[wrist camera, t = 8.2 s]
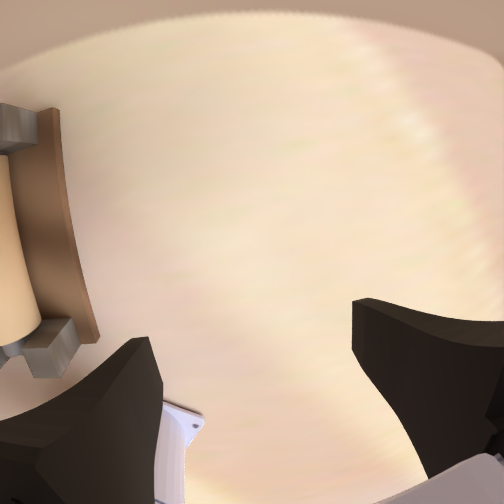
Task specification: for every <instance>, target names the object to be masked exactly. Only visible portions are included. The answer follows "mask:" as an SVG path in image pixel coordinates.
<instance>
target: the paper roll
mask: <svg viewBox="0 0 504 504" xmlns="http://www.w3.org/2000/svg"><path fill="white" fill-rule="evenodd" d="M40 322H41V315H40V312H39V309H38V306H37V303H36V299H35V296H34V293H33V289H32V286H31V282H30V279H29V275H28V271H27V267H26V263H25V259H24V255H23V251H22V246H21V242H20V237H19V232H18V227H17V222H16V216H15V210H14V204H13V197H12V189H11V181H10V172H9V162H8V156H6V155H0V346H2V347H3V350H4V352H5V355H6V356H8V357H14V356H18V355H20V354H22V353H23V352H22V349H21V348H22V347H23V346H24V345H25V344H26V343H27V342H26V339H25V336H26V335H28V334H29V333H31V332H32V331H33V330H35V329H36V328H37V327H38V326H39V324H40Z"/></svg>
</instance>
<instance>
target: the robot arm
mask: <svg viewBox="0 0 504 504" xmlns="http://www.w3.org/2000/svg"><path fill="white" fill-rule="evenodd" d="M352 351H353V353H354V355H355V356H356V358H357V360H358V362H359V364H360V366H361V368H362V369H363V371H364V372H365V373H366V375H367V376H368V377H369V379H370V380H371V381H372V383H373V384H374V385H375V387H376V388H377V389H378V391H379V392H380V393H381V394H382V396H383V397H384V398H385V400H386V401H387V402H388V404H389V405H390V406H391V408H392V409H393V410H394V412H395V413H396V415H397V416H398V418H399V420H400V422H401V423H402V425H403V427H404V429H405V430H406V432H407V434H408V436H409V438H410V440H411V442H412V444H413V446H414V448H415V450H416V452H417V454H418V456H419V458H420V461H421V463H422V465H423V467H424V470H425V472H426V474H427V477H428V480H426V481H424V482H422V483H420V484H418V485H416V486H414V487H412V488H410V489H408V490H405V491H403V492H401V493H399V494H396V495H394V496H392V497H389V498H387V499H384V500H382V501H379V502H377V503H374V504H504V321H471V320H461V319H454V318H447V317H442V316H437V315H433V314H428V313H424V312H420V311H416V310H413V309H409V308H406V307H402V306H399V305H395V304H392V303H388V302H385V301H381V300H377V299H372V298H364V299H360V300H356V301H352ZM204 423H205V419H204V417H203V416H201V415H199V414H196V413H193V412H190V411H188V410H185V409H182V408H179V407H177V406H174V405H171V404H169V403H166V402H164V401H163V382H162V379H161V376H160V373H159V370H158V366H157V363H156V360H155V357H154V354H153V351H152V347H151V344H150V341H149V337H139V338H132V339H130V340H129V341H127V342H126V343H125V344H124V345H122V346H121V347H120V348H119V349H118V350H117V351H116V352H115V353H113V354H112V355H111V356H110V357H109V358H108V359H107V360H106V361H104V362H103V363H102V364H101V365H100V366H99V367H97V368H96V369H95V370H94V371H92V372H91V373H90V374H89V375H88V376H86V377H85V378H84V379H83V380H81V381H80V382H79V383H77V384H76V385H74V386H73V387H71V388H70V389H68V390H67V391H65V392H64V393H62V394H61V395H59V396H57V397H55V398H53V399H52V400H50V401H48V402H46V403H44V404H42V405H40V406H38V407H36V408H34V409H32V410H29V411H27V412H24V413H22V414H19V415H17V416H14V417H11V418H8V419H5V420H1V421H0V504H185V450H186V448H187V447H188V446H189V444H190V443H191V442H192V440H193V439H194V437H195V436H196V435H197V433H198V432H199V430H200V429H201V428H202V426H203V425H204ZM194 424H198V425H194Z"/></svg>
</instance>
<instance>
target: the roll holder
mask: <svg viewBox="0 0 504 504" xmlns="http://www.w3.org/2000/svg"><path fill="white" fill-rule="evenodd" d="M0 155H6V156H8V162H9V172H10V181H11V189H12V197H13V204H14V210H15V216H16V222H17V227H18V232H19V237H20V242H21V246H22V251H23V255H24V259H25V263H26V267H27V271H28V275H29V279H30V282H31V286H32V289H33V293H34V296H35V299H36V303H37V306H38V309H39V312H40V315H41V322H40V324H39V326H38V327H37V328H36V329H35V330H33V331H32V332H31V333H29V334H28V335H26V336H25V339H26V342H27V343H26V344H25V345H24V346H23V347H22V348H21V349H22V352H23V353H22V354H20V355H24V357H25V359H26V361H27V364H28V366H29V368H30V370H31V372H32V375H33V377H34V378H61V376H62V374H63V372H64V371H65V369H66V367H67V366H68V364H69V363H70V361H71V359H72V358H73V356H74V354H75V353H76V351H77V350H78V348H79V346H80V345H81V344H93V343H97V341H98V339H99V337H100V334H99V331H98V327H97V324H96V321H95V318H94V314H93V311H92V307H91V304H90V300H89V297H88V293H87V289H86V286H85V282H84V278H83V274H82V269H81V265H80V261H79V256H78V252H77V247H76V242H75V237H74V232H73V227H72V222H71V216H70V210H69V204H68V197H67V190H66V183H65V175H64V166H63V157H62V145H61V132H60V113H59V110H58V109H55V108H50V109H47V110H44V111H41V112H38V113H35V112H32V111H29V110H25V109H22V108H18V107H15V106H11V105H8V104H4V103H0ZM9 358H10V357H8V356H6V355H5V352H4V350H3V347H2V346H0V369H1V368H2V367H3V365H4V364H5V363H6V362H7V361H8V359H9Z"/></svg>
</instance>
